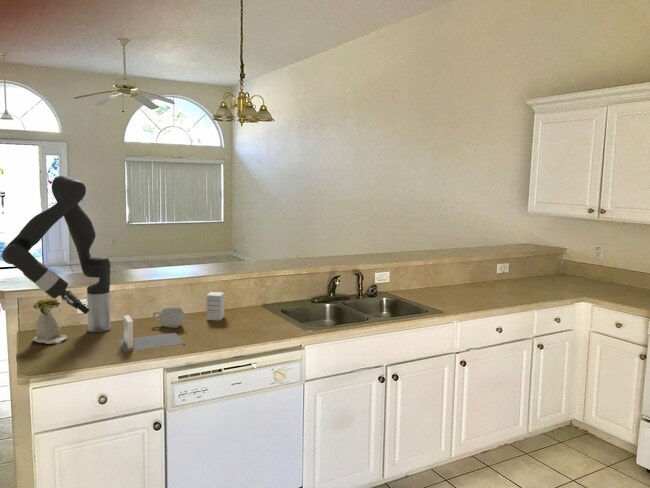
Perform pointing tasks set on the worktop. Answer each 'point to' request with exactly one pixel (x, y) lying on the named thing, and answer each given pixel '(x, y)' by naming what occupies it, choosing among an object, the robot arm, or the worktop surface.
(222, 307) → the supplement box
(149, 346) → the mat
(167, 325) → the teacup
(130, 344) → the tile
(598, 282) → the worktop surface
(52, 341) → the potted leafy plant
